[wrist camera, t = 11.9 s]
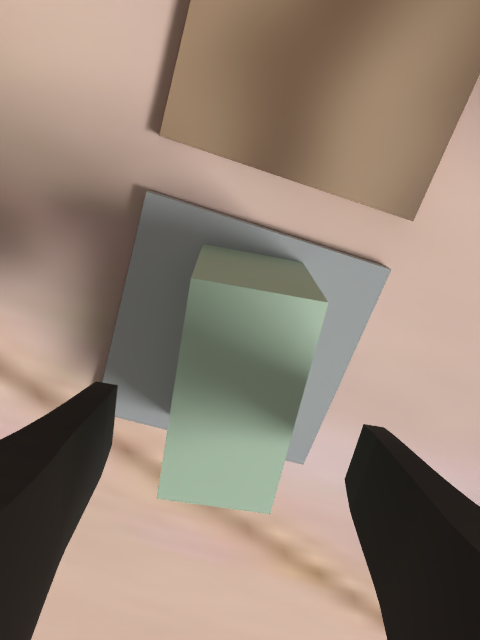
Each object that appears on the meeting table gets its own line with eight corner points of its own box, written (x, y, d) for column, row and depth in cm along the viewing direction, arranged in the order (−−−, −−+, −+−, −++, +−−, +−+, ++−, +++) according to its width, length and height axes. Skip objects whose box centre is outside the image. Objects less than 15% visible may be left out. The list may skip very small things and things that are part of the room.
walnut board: (542, -85, 14) (555, -95, 13) (407, 219, 17) (412, 221, 17) (244, -219, 13) (245, -236, 12) (161, 136, 16) (159, 135, 15)
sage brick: (302, 262, 17) (328, 302, 12) (261, 430, 20) (270, 514, 15) (202, 243, 17) (190, 278, 12) (175, 416, 20) (156, 498, 15)
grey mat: (386, 266, 18) (391, 269, 17) (301, 456, 21) (303, 464, 21) (149, 189, 17) (146, 191, 16) (99, 404, 20) (95, 411, 19)
